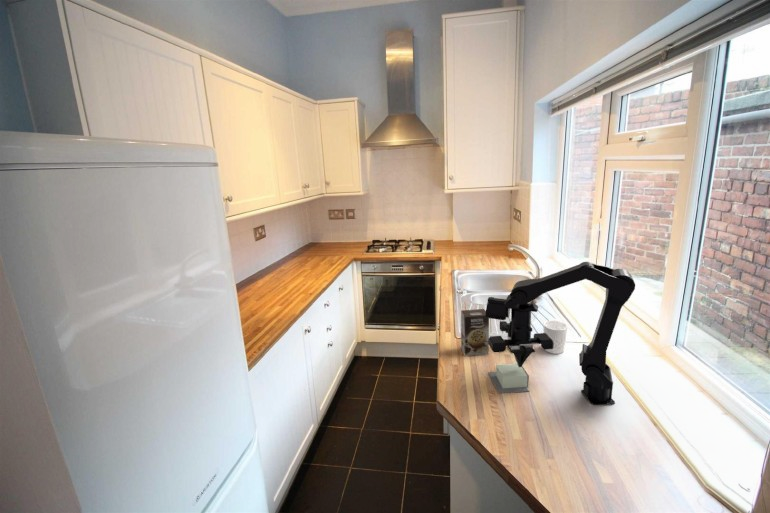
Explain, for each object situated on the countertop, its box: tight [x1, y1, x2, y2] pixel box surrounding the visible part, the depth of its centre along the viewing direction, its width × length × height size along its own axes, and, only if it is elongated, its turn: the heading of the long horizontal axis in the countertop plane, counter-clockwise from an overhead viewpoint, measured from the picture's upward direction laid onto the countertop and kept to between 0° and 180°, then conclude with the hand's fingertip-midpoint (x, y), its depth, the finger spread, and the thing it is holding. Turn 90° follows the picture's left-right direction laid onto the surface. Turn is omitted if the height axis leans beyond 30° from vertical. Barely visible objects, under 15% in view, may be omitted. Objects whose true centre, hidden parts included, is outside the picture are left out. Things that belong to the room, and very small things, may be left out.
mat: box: [488, 371, 530, 394], centre depth 114 cm, size 9×11×1 cm
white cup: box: [542, 320, 568, 355], centre depth 129 cm, size 8×8×10 cm
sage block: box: [495, 363, 530, 388], centre depth 113 cm, size 4×7×8 cm
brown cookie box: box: [460, 308, 490, 357], centre depth 131 cm, size 9×6×16 cm
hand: (519, 366), depth 112 cm, fingers closed
